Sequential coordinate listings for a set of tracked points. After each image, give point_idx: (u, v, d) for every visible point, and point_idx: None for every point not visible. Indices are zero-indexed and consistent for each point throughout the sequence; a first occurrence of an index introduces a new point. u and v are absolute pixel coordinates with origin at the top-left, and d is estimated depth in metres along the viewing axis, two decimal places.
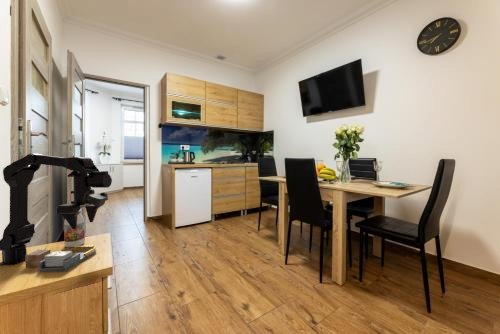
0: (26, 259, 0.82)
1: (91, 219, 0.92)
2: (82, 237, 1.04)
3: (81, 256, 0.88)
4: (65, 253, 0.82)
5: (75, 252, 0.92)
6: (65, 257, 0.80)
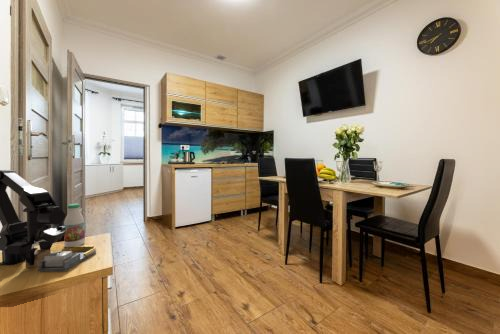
0: None
1: None
2: (82, 237, 1.04)
3: (81, 256, 0.88)
4: (65, 253, 0.82)
5: (75, 252, 0.92)
6: (65, 257, 0.80)
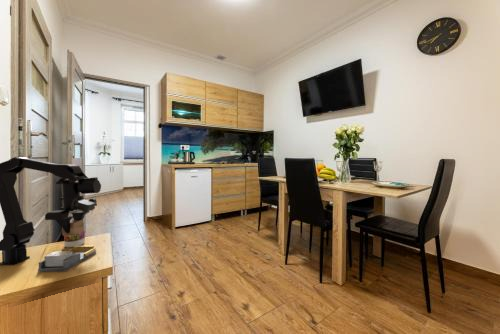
0: None
1: None
2: (82, 237, 1.04)
3: (81, 256, 0.88)
4: (65, 253, 0.82)
5: (75, 252, 0.92)
6: (65, 257, 0.80)
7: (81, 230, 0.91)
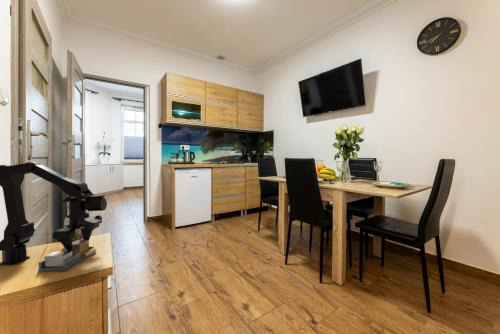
0: None
1: None
2: (82, 237, 1.04)
3: (81, 256, 0.88)
4: (65, 253, 0.82)
5: None
6: (65, 257, 0.80)
7: (86, 250, 0.92)
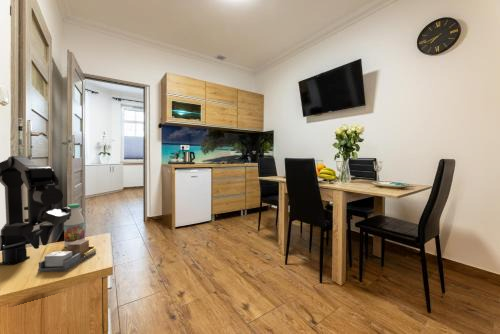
0: (68, 248, 0.89)
1: (44, 241, 0.75)
2: (82, 237, 1.04)
3: (81, 256, 0.88)
4: (65, 253, 0.82)
5: None
6: (65, 257, 0.80)
7: (86, 250, 0.92)
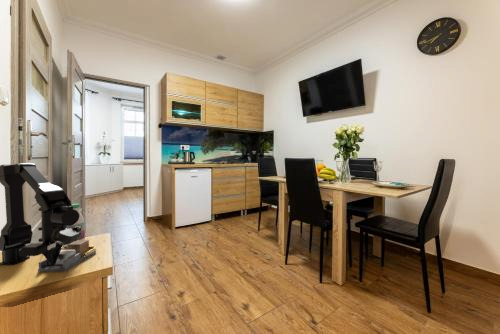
0: (68, 248, 0.89)
1: None
2: (82, 237, 1.04)
3: (81, 256, 0.88)
4: (68, 251, 0.83)
5: None
6: (68, 255, 0.82)
7: (86, 250, 0.92)
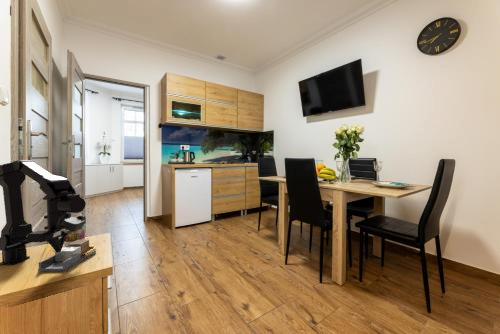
0: None
1: None
2: (82, 237, 1.04)
3: (81, 256, 0.88)
4: (74, 248, 0.86)
5: None
6: (74, 252, 0.84)
7: (87, 250, 0.93)
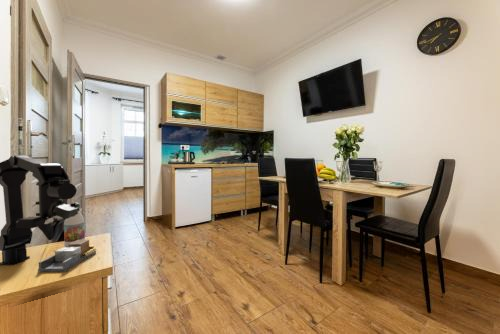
0: None
1: None
2: (82, 237, 1.04)
3: (81, 256, 0.88)
4: (74, 248, 0.86)
5: None
6: (74, 252, 0.84)
7: (87, 250, 0.93)
